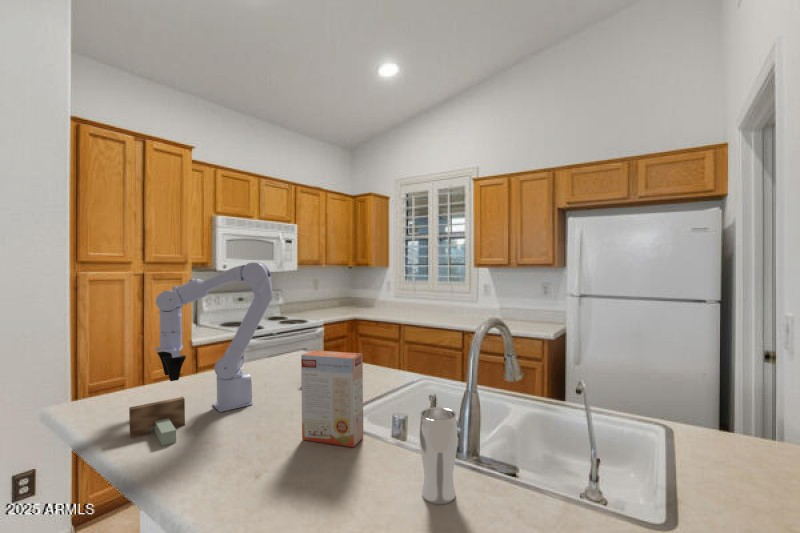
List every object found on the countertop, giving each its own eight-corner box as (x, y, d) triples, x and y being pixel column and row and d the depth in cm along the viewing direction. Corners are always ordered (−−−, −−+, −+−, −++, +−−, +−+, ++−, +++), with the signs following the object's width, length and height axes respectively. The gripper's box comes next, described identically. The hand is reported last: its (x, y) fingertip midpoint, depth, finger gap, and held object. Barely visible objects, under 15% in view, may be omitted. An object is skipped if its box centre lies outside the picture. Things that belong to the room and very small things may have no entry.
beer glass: (417, 485, 76) (417, 407, 76) (453, 483, 77) (452, 406, 77) (422, 507, 70) (422, 421, 69) (461, 505, 70) (461, 420, 70)
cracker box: (364, 437, 97) (363, 352, 97) (353, 448, 92) (352, 358, 91) (314, 430, 102) (313, 348, 102) (301, 440, 96) (300, 354, 96)
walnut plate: (183, 422, 107) (182, 396, 107) (184, 425, 106) (184, 398, 106) (129, 435, 100) (129, 407, 99) (130, 438, 98) (130, 409, 98)
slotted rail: (160, 415, 112) (159, 404, 112) (176, 442, 96) (176, 429, 96) (147, 418, 111) (147, 407, 110) (161, 445, 94) (161, 433, 94)
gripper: (151, 329, 120) (151, 374, 120) (159, 336, 109) (160, 386, 109) (177, 327, 124) (178, 370, 124) (188, 333, 113) (188, 381, 113)
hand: (171, 377), depth 117 cm, fingers open, 7 cm apart
